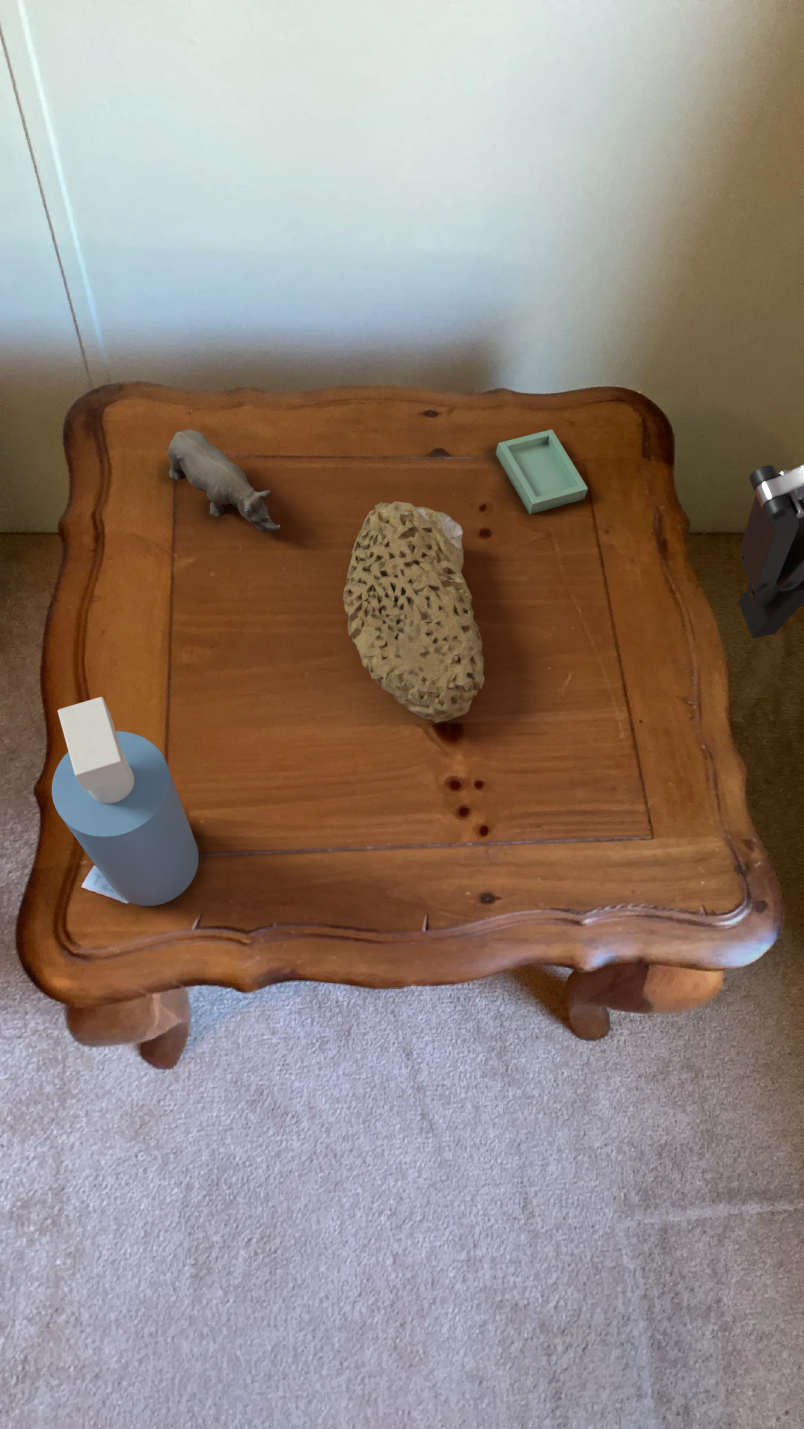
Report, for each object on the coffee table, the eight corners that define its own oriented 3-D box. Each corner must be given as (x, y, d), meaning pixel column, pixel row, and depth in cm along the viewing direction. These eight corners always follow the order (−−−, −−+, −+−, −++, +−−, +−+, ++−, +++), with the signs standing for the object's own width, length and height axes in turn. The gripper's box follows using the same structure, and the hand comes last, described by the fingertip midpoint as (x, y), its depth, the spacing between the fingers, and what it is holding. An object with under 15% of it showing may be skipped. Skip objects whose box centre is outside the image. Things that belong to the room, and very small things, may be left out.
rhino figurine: (262, 562, 84) (259, 520, 78) (161, 477, 87) (150, 431, 82) (294, 537, 85) (293, 494, 80) (193, 454, 89) (185, 408, 83)
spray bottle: (210, 887, 70) (170, 781, 51) (118, 920, 68) (42, 823, 49) (184, 807, 73) (137, 677, 54) (95, 836, 71) (15, 713, 52)
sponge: (350, 542, 87) (312, 703, 74) (372, 478, 81) (335, 641, 69) (480, 583, 89) (465, 746, 77) (511, 524, 83) (500, 690, 71)
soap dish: (583, 500, 90) (588, 488, 89) (529, 516, 89) (533, 503, 87) (548, 441, 93) (552, 428, 92) (494, 455, 92) (498, 442, 90)
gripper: (1082, 261, 38) (828, 547, 61) (791, 315, 37) (641, 586, 60) (1172, 406, 36) (873, 648, 58) (864, 469, 35) (679, 692, 57)
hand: (756, 617), depth 59 cm, fingers closed
